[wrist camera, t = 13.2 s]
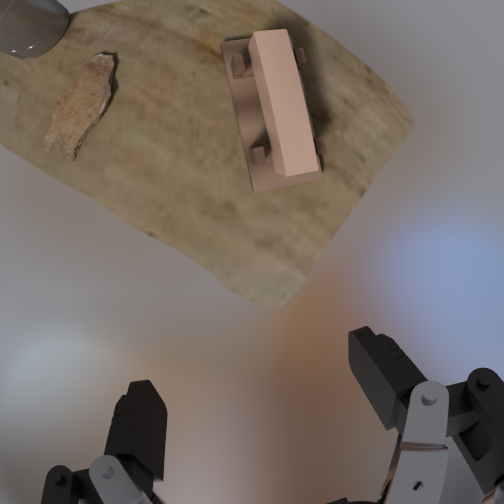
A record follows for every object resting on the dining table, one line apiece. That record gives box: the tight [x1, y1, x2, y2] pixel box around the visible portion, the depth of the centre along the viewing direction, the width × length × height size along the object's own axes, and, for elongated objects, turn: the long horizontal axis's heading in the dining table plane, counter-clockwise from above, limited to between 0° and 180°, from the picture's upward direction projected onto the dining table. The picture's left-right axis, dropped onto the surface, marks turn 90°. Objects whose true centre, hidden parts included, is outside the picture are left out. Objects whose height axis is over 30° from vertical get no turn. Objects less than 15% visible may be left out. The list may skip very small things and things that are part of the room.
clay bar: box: [248, 29, 319, 177], centre depth 27 cm, size 4×16×5 cm, turn 12°
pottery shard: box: [44, 53, 115, 161], centre depth 28 cm, size 8×3×15 cm
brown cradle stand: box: [220, 34, 327, 193], centre depth 30 cm, size 20×9×6 cm, turn 12°
